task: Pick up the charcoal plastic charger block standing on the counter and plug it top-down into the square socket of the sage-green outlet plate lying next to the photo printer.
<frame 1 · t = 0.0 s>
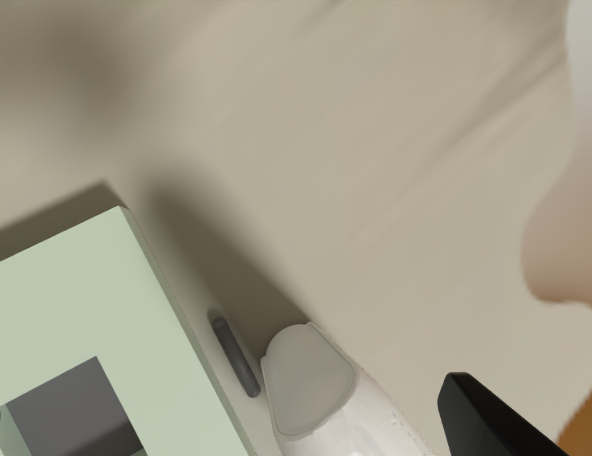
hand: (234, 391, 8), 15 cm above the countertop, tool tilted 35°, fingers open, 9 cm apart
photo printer: (330, 401, 23), on the countertop
outlet plate: (83, 419, 21), on the countertop
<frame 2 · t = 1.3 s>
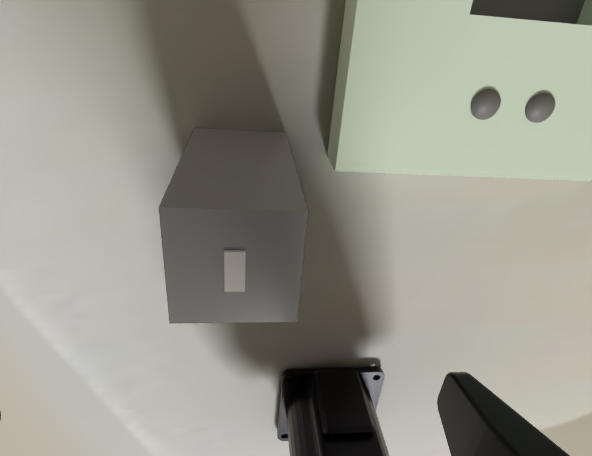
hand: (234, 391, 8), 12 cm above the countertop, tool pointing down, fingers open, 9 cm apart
charger: (240, 172, 19), on the countertop
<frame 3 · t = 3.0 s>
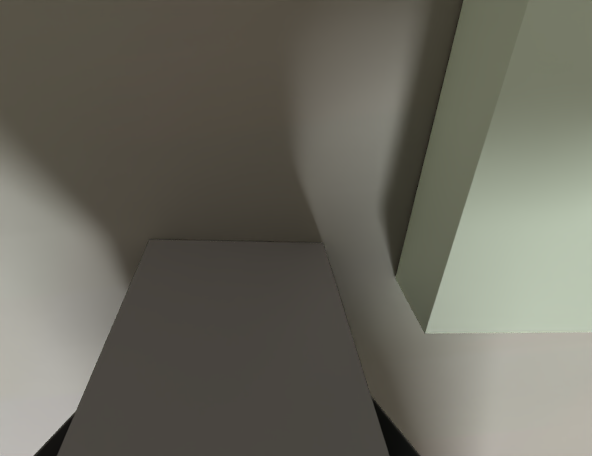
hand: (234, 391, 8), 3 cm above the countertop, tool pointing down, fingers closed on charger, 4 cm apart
charger: (237, 308, 10), on the countertop, touching gripper
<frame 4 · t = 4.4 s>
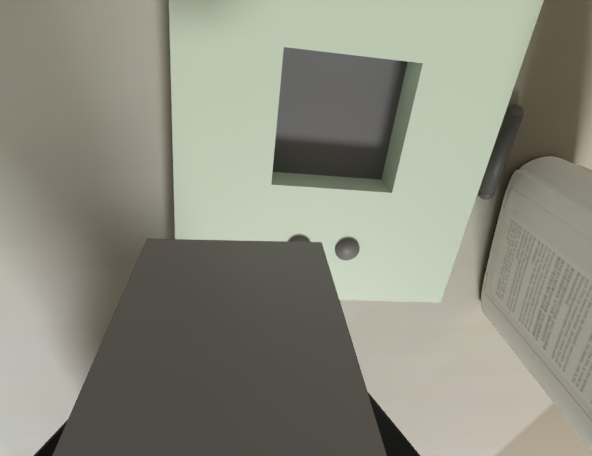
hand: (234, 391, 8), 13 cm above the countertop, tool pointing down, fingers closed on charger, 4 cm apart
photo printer: (519, 239, 23), on the countertop
charger: (235, 307, 10), point 10 cm above the countertop, touching gripper
outlet plate: (334, 116, 19), on the countertop
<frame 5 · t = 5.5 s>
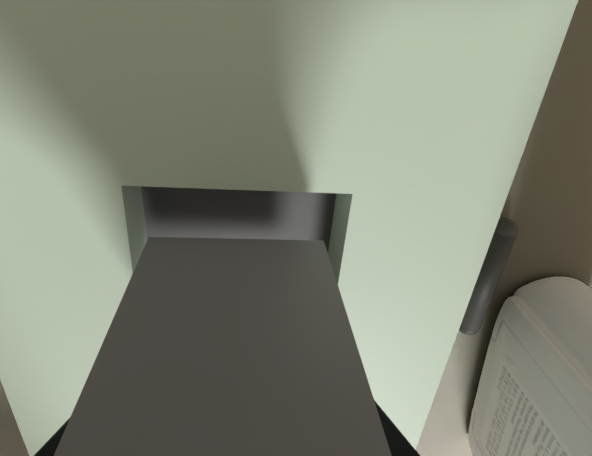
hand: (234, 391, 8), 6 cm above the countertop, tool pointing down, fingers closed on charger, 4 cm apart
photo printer: (517, 365, 18), on the countertop
charger: (237, 306, 10), point 3 cm above the countertop, touching gripper
outlet plate: (240, 245, 13), on the countertop
when the fingers open (3 cm above the countertop, at t = 6.2 s): charger stays where it is, resting on outlet plate.
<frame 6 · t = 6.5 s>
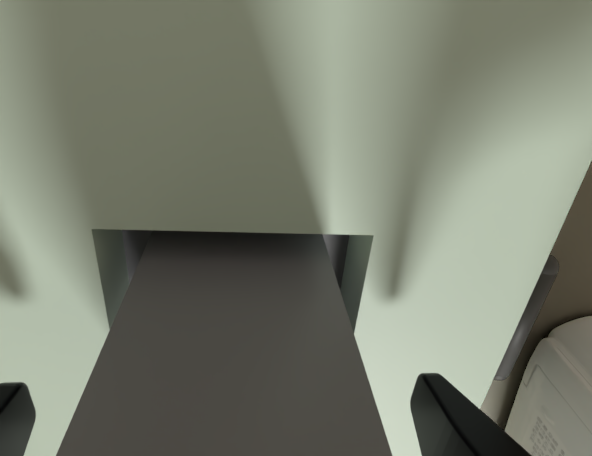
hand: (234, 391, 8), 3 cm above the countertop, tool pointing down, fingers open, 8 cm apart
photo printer: (546, 407, 16), on the countertop
charger: (238, 290, 11), resting on outlet plate
outlet plate: (238, 284, 11), on the countertop
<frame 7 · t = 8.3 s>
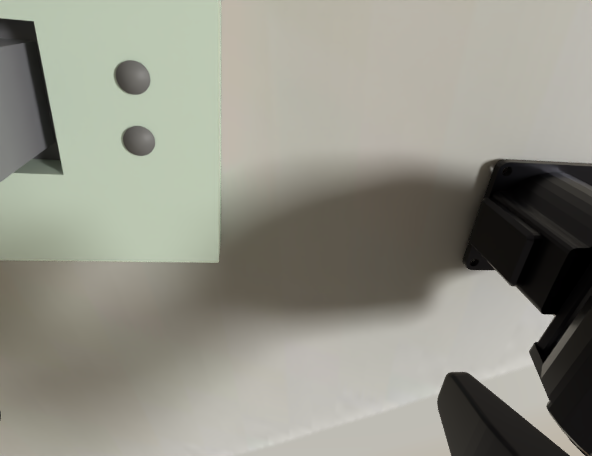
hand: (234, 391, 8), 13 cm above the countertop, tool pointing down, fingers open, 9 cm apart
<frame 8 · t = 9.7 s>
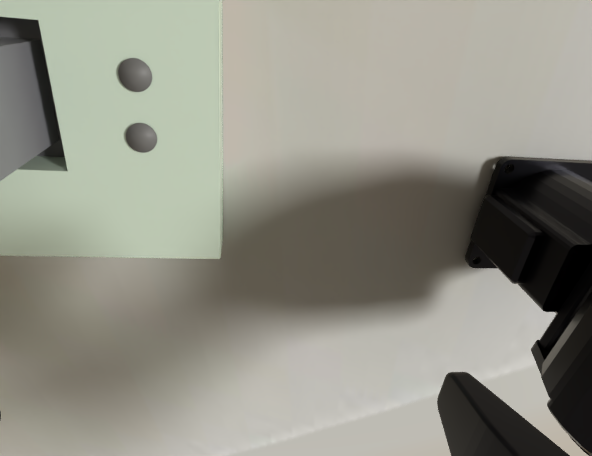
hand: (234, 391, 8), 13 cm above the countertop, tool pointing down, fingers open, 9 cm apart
outlet plate: (2, 87, 17), on the countertop
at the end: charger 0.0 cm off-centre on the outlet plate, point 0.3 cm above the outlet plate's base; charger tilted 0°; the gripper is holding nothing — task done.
